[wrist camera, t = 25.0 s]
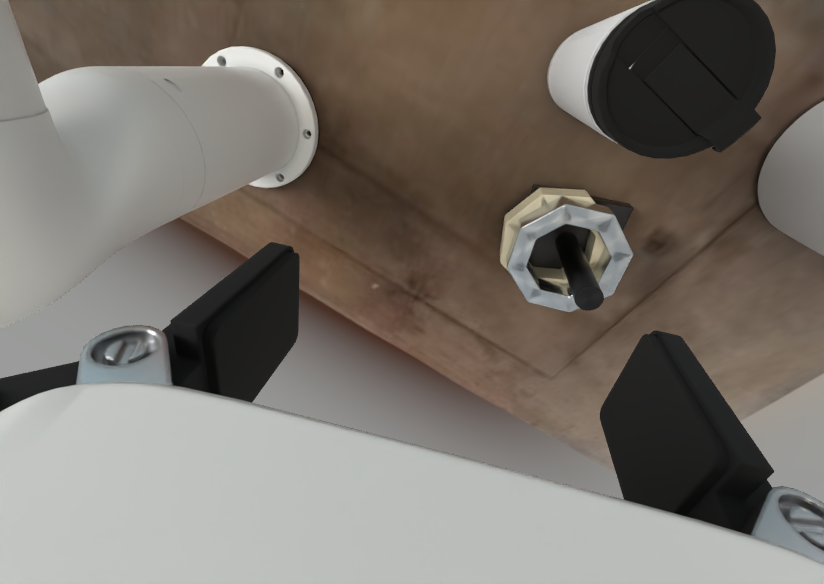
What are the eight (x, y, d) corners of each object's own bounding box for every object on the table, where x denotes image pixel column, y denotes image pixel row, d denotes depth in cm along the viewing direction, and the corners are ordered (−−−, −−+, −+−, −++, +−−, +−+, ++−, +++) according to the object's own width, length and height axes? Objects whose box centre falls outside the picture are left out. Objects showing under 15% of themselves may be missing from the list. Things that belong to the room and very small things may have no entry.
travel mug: (585, 132, 35) (673, 196, 18) (530, 79, 34) (568, 94, 17) (649, 67, 32) (829, 69, 15) (591, 7, 31) (714, -67, 14)
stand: (506, 267, 42) (510, 333, 32) (533, 183, 38) (548, 228, 27) (592, 286, 42) (624, 360, 31) (629, 203, 37) (683, 257, 27)
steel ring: (497, 282, 39) (497, 294, 37) (529, 188, 35) (531, 195, 32) (594, 306, 39) (599, 320, 37) (640, 214, 34) (650, 223, 32)
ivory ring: (496, 277, 42) (496, 288, 40) (508, 185, 37) (509, 192, 35) (593, 285, 40) (598, 297, 38) (618, 191, 36) (625, 199, 34)
